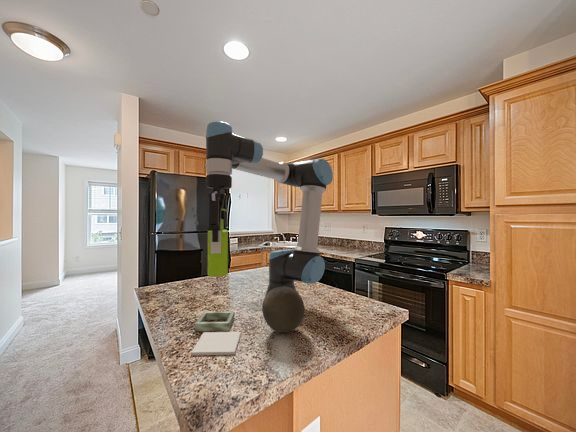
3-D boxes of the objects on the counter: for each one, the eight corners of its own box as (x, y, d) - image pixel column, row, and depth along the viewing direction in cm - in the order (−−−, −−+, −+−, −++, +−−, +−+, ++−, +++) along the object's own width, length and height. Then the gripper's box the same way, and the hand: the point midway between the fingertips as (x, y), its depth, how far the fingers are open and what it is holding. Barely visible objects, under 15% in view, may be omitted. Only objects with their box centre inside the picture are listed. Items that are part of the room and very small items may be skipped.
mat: (240, 334, 82) (240, 331, 82) (234, 354, 70) (234, 351, 70) (203, 334, 82) (203, 332, 82) (191, 355, 70) (191, 352, 70)
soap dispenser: (233, 272, 79) (233, 208, 79) (220, 277, 72) (220, 207, 72) (217, 271, 81) (217, 208, 81) (203, 275, 74) (203, 208, 74)
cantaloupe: (264, 322, 91) (265, 281, 91) (303, 323, 91) (304, 282, 91) (259, 342, 77) (259, 293, 77) (305, 343, 77) (305, 294, 77)
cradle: (234, 318, 95) (234, 311, 95) (229, 330, 85) (229, 323, 85) (203, 318, 95) (203, 311, 95) (194, 331, 84) (194, 323, 84)
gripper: (214, 179, 85) (213, 247, 85) (196, 169, 66) (195, 256, 66) (236, 179, 86) (236, 247, 86) (225, 169, 67) (224, 256, 67)
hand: (218, 251), depth 76 cm, fingers closed on soap dispenser, 6 cm apart
